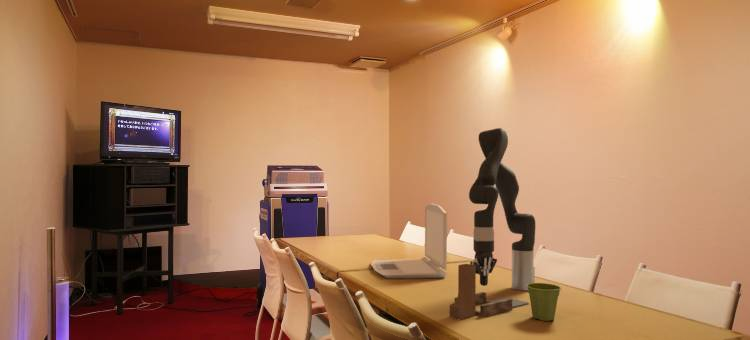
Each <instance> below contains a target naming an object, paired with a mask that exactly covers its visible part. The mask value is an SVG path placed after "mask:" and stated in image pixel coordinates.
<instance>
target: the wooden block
mask: <svg viewBox="0 0 750 340" xmlns="http://www.w3.org/2000/svg"><path fill="white" fill-rule="evenodd" d="M457 273H458V277H457V279H458V280H457V281H458V282H457V283H458V284H457V285H458V286H457V287H458V290H457V291H458V293H457V300H456V301H455V300H454V302H453V303H451V304H449V318H451V317H453V318H452V319H454V318H456V319H455V320H457V319H460V320H463V318H464V319H468V318H472V317H476V315H475V310H476V305H475V303H476V292H477V291H476V288H477V285H476V282H477V281H476V277H477V276H476V275H477V274H476V266H475V265H471V264H469V263H463V264H459V265H458V272H457ZM467 317H468V318H467Z"/></svg>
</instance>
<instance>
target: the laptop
mask: <svg viewBox="0 0 750 340" xmlns="http://www.w3.org/2000/svg"><path fill="white" fill-rule="evenodd" d="M424 213H425V215H424V223H425V224H424V229H425V230H424V234H425V235H424V256H425V257H424V256H423V257H421V259H416V258H415V259H373V260H372V262H371V264H370V265H371V267H372V268H373V270H374V271H375V272H376V273H378V274H379V275H380V276H382V277H384V278H387V279H440V278H441V279H442V278H443V279H445V278H446V275H447V272H445V271H447V269H448V268H447V267H448V266H447V263H448V262H447V258H448V256H447V252H448V251H447V250H448V249H447V248H448V247H447V245H448V244H447V243H448V242H447V241H448V240H447V238H448V237H447V235H448V233H447V231H448V226H447V225H448V224H447V223H448V222H447V220H448V219H447V218H448V217H447V215H448V213H447V211H445V210H444V208H443V207H442V206H441V205H438V204H436V203H429V204H428V205H426V206H425V207H424Z"/></svg>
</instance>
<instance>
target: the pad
mask: <svg viewBox="0 0 750 340" xmlns="http://www.w3.org/2000/svg"><path fill="white" fill-rule="evenodd" d="M509 298H510V299H512V309H515V308H518V307H523V306H526V305H527V306H528V305H529V303H530V302H528V301H523V300H519V299H515V298H512V297H508V296H503V297H499V298H496V299H491V300H489V301H492V302H495V301H500V300H504V299H509Z"/></svg>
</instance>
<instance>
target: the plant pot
mask: <svg viewBox="0 0 750 340" xmlns="http://www.w3.org/2000/svg"><path fill="white" fill-rule="evenodd" d="M526 287H528V295H529V301H530V302H529V303H530V307H531V315H532V318H534V319H535V320H536V319H537V320H539V321H542V322H543V321H544V322H545V321H547V322H549V321H553V320H555V317H556V309H557V304H558V300H559V299H558V298H559V296H560V292H561V290H562V287H561V286H559V285H557V284H551V283H546V282H535V283H529V284H526Z"/></svg>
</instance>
